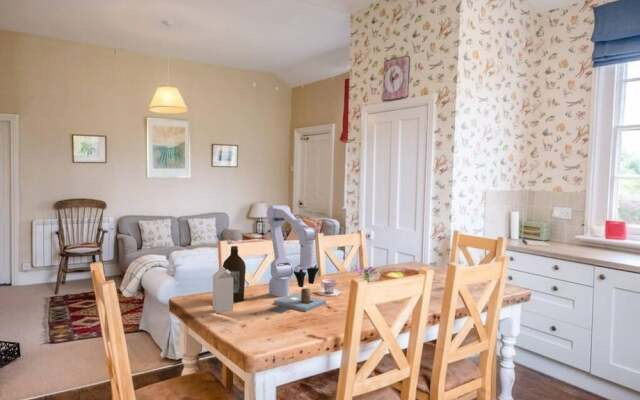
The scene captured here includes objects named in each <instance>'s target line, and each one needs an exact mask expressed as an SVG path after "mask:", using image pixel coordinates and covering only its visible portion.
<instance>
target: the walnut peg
mask: <svg viewBox="0 0 640 400" xmlns="http://www.w3.org/2000/svg"><path fill="white" fill-rule="evenodd" d="M300 291H301V292H300V293H301V294H300V295H301V303H304V304H309V303H310V297H311V288H307V287H306V288H305V287H303V288H301V290H300Z"/></svg>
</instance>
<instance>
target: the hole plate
mask: <svg viewBox="0 0 640 400" xmlns="http://www.w3.org/2000/svg"><path fill="white" fill-rule="evenodd" d="M273 304H274V305H276V306H278V305H279V306H283V307H287V308H291V309H292V310H293V309H294V310H297V311H300V312H301V311H302V312H306V313H307V312H309V311H311V310H314V309H317V308H319V307H321V306H324V305H327V299H322V298H317V297H313V296H310V303H309V304H304V303H301V294H300V293H293V294H292V293H291V294H290V295H288V296H285V297H280V298H277V299H274V300H273Z"/></svg>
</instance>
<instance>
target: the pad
mask: <svg viewBox="0 0 640 400" xmlns="http://www.w3.org/2000/svg"><path fill="white" fill-rule="evenodd" d="M290 310H292V308H289V307H285V306H281V305H276V306H273V307H270V308H267V309H266V311H268V312H273V313H278V314H282V313H283V314H284V313H285V312H288V311H290Z"/></svg>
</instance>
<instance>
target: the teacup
mask: <svg viewBox="0 0 640 400" xmlns="http://www.w3.org/2000/svg"><path fill="white" fill-rule="evenodd" d="M338 283H339V280H337V279H330V278H326V279H322V280H321V286H322V288H323V289H319V290H317V292H316V293H317V294H318V295H321V296H326V297H336V296H340V295H341V294H342V291H341V290H338V289H336V286H337V284H338Z"/></svg>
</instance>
